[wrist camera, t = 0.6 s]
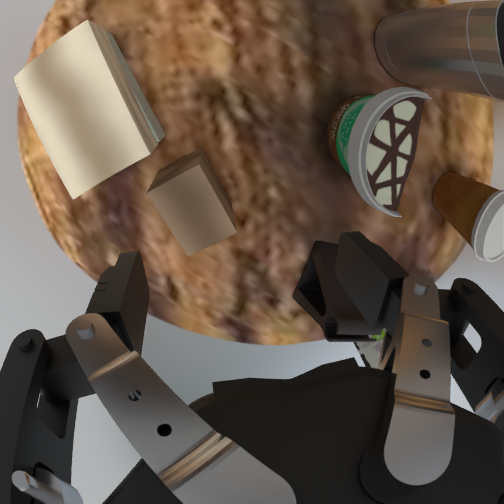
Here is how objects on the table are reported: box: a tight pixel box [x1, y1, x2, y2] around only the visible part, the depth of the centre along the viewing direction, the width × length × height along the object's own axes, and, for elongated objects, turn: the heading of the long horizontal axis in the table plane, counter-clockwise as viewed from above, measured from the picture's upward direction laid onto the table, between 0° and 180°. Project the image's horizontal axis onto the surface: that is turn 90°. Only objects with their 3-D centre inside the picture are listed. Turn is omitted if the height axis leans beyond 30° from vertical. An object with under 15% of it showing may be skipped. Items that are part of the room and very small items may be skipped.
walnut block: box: [147, 148, 237, 256], centre depth 27 cm, size 5×7×7 cm
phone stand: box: [293, 241, 382, 342], centre depth 34 cm, size 9×6×12 cm, turn 164°
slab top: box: [14, 20, 158, 199], centre depth 19 cm, size 8×13×4 cm, turn 21°
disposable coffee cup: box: [432, 172, 504, 262], centre depth 30 cm, size 10×10×12 cm
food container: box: [326, 87, 432, 218], centre depth 25 cm, size 12×6×10 cm, turn 173°
